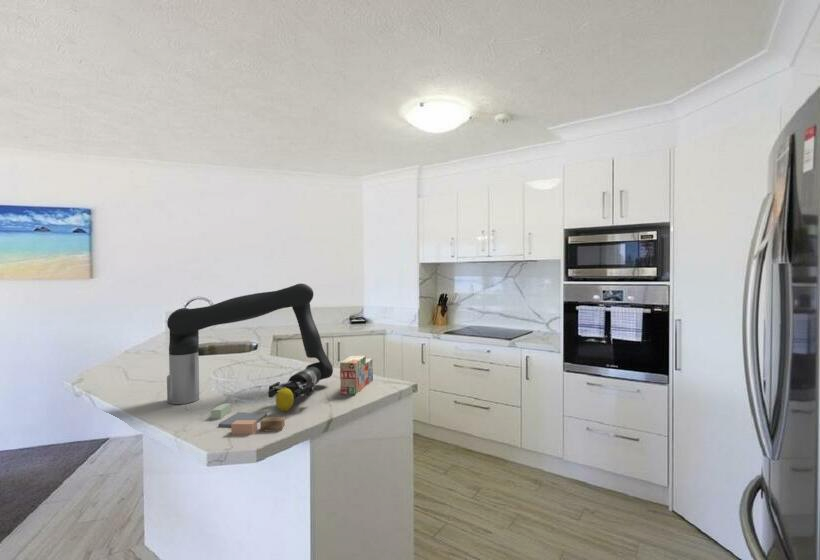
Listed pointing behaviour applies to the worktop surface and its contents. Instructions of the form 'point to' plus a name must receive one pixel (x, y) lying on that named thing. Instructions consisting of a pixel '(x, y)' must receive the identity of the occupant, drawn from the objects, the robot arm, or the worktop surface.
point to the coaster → (242, 418)
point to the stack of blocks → (355, 374)
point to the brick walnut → (272, 423)
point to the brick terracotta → (244, 427)
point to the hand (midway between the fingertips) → (282, 395)
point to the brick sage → (221, 411)
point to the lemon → (284, 399)
